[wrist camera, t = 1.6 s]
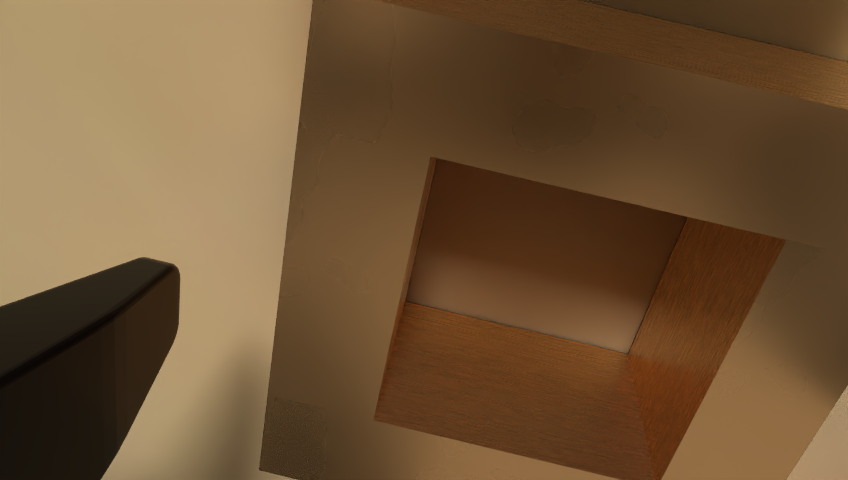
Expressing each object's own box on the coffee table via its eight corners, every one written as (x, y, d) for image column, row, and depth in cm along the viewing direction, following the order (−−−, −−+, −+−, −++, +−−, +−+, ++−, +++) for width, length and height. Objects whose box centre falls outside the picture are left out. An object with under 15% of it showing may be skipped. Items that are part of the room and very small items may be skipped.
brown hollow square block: (680, 435, 13) (720, 581, 10) (312, 347, 13) (259, 470, 10) (871, 67, 10) (1003, 144, 7) (371, -48, 10) (314, -14, 7)
